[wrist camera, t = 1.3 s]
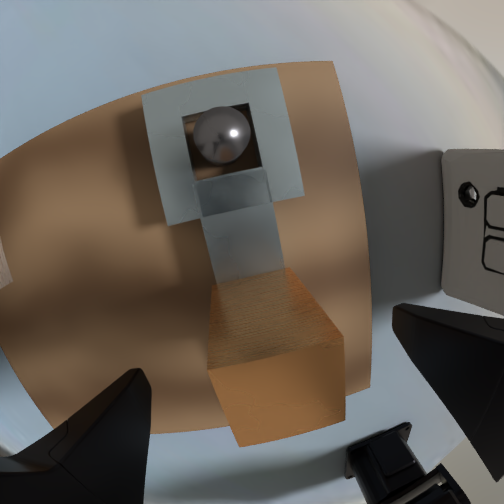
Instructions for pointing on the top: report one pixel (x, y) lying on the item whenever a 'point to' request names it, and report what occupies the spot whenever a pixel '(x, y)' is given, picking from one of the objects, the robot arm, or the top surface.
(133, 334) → the base board
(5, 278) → the block
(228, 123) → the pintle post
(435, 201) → the top surface
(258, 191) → the link
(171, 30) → the top surface
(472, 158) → the electrical switch
